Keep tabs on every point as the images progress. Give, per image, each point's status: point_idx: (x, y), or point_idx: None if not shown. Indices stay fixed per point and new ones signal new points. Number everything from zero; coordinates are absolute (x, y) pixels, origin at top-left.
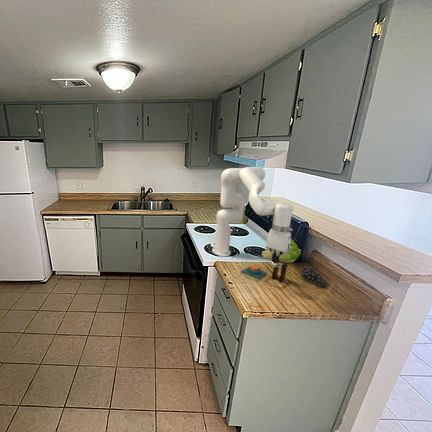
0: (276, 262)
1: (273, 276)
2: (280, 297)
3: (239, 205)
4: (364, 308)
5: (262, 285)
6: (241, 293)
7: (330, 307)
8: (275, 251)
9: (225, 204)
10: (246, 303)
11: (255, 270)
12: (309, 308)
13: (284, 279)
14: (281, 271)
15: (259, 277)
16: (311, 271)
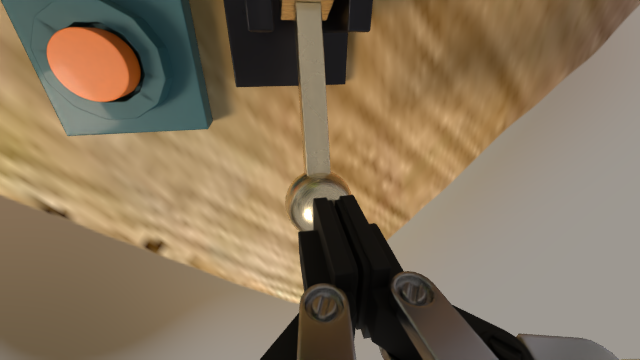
0: (270, 25)
1: (266, 32)
2: (365, 163)
3: None
4: None
5: (257, 136)
6: (247, 264)
7: (551, 52)
8: (343, 340)
9: None
10: (297, 288)
11: (133, 88)
12: (472, 140)
13: None
14: (331, 32)
15: (204, 107)
16: None
